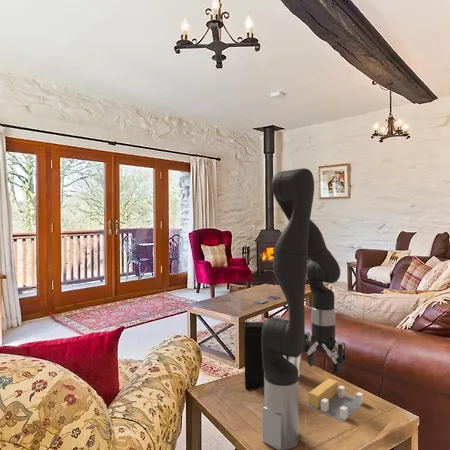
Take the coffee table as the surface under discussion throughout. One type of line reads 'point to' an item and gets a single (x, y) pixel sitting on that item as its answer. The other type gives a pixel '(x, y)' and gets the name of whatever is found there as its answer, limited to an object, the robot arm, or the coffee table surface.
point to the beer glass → (294, 361)
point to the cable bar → (323, 392)
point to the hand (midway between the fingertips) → (323, 369)
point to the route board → (340, 405)
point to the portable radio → (253, 355)
